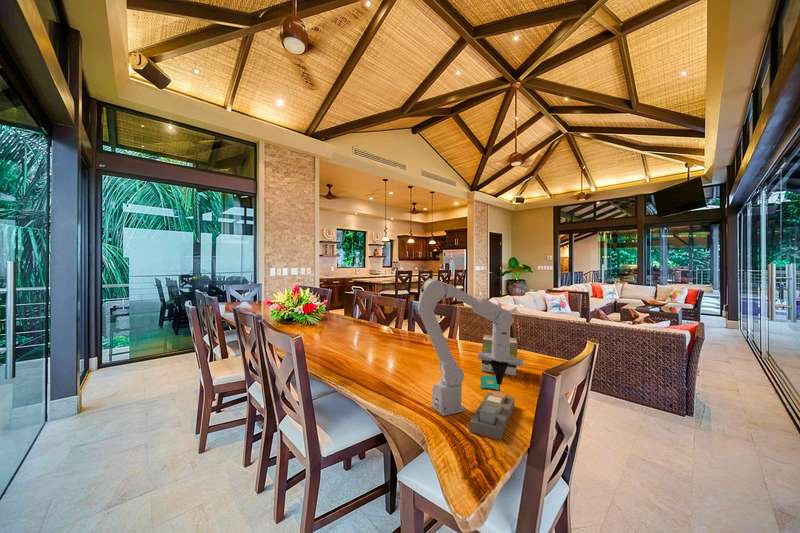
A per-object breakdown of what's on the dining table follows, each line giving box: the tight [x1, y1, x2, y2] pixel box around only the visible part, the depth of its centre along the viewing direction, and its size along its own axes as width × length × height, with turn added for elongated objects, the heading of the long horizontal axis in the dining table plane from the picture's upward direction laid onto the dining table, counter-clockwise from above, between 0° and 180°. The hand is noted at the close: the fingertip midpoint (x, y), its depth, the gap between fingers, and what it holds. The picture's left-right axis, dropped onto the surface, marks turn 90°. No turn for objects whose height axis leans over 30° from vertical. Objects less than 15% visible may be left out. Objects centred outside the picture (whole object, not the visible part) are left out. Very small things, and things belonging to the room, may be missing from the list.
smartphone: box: [480, 374, 501, 392], centre depth 131 cm, size 7×1×15 cm
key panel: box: [468, 391, 516, 441], centre depth 102 cm, size 24×9×3 cm, turn 152°
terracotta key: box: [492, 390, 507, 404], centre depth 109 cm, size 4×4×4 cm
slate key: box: [480, 405, 497, 426], centre depth 95 cm, size 4×4×4 cm
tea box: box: [480, 334, 518, 376], centre depth 146 cm, size 15×10×15 cm
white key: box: [486, 395, 502, 414], centre depth 102 cm, size 4×4×4 cm
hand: (499, 383), depth 109 cm, fingers closed
